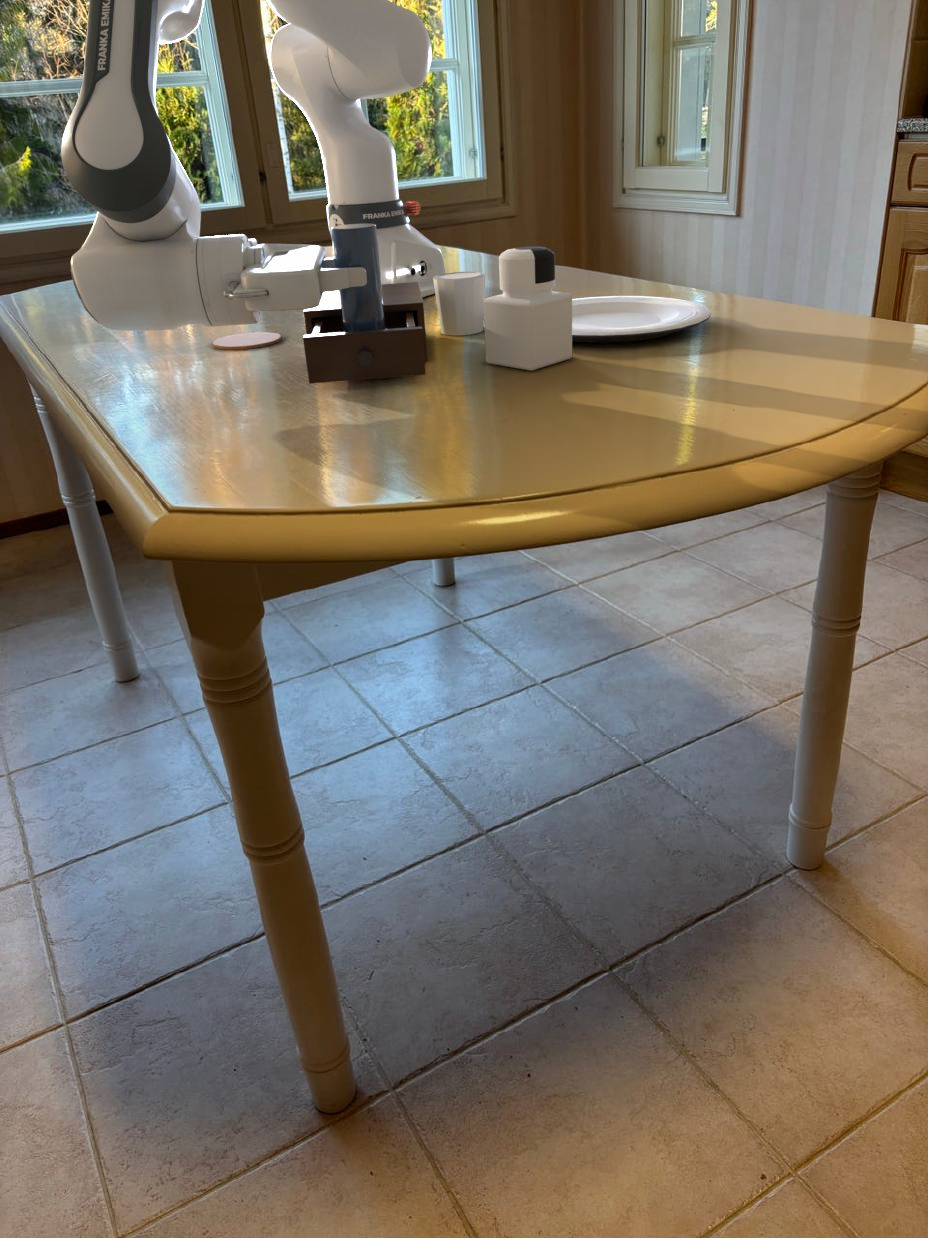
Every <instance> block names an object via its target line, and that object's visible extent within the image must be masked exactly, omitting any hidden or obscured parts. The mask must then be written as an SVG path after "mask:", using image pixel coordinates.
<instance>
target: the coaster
mask: <svg viewBox="0 0 928 1238" xmlns="http://www.w3.org/2000/svg"><path fill="white" fill-rule="evenodd" d="M281 340H282V335H281V334H279V333H277V332H270V331H253V332H243V333H235V334H229V335H226V336H222V337H219V338H216V339H215V340H213V341H212V346H213V347H214V348H215V349H219V350H225V351H226V350H229V351H235V350H238V351H239V350H250V349H256V348H262V347H267V346H271V345H275V344H276V343H279V342H281Z"/></svg>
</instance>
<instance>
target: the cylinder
mask: <svg viewBox="0 0 928 1238" xmlns="http://www.w3.org/2000/svg"><path fill="white" fill-rule="evenodd" d="M332 237H333V245H334V254H335V262H336V268H348V267H353V266H363V267H365V269H366V274H367V283H366V285H365V286H359V287H349V288H345V289H341V290H339V296H340V305H341V314H342V322H343V331H344V332H354V331H367V330H380V329H386V326H385V315H384V304H383V294H382V283H381V273H380V262H379V252H378V241H377V230H376V225H375V224H348V225H340V226H335V227H332Z"/></svg>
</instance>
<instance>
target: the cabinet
mask: <svg viewBox="0 0 928 1238" xmlns="http://www.w3.org/2000/svg"><path fill="white" fill-rule="evenodd" d="M382 294H383V304H384V313H385V312H399V311H412V312H413V318H414V324H415V327H422V331H423V344H424V357H425V362H428V346H427V334H426V322H425V321H426V319H425V307H424V300H423V297H422V295H421V291H420V287H419V283H418V282H410V283H396V284H382ZM302 311H303V313H302V314H303V318H304V325H305V326H304V327H305V333H306V334H305V335H312V332H313V329H314V326H315V323H316V320H317V317H330V316H342V314H341V305H340V296H339V290H337V291H333V292H324V293H323V296H322V299H321V302H320V305H319V306H318V307H316V308H312V309H305V310H302Z"/></svg>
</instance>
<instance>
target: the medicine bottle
mask: <svg viewBox="0 0 928 1238" xmlns="http://www.w3.org/2000/svg"><path fill="white" fill-rule="evenodd" d="M498 269H499V271H498V274H499V289H500V290H501V291H502V293H500V294H496V295H492V296H489V297H488V296H487V297H484V320H483V323H484V343H485V361H486V364H490V365H496V366H501V367H506V368H507V367H508V368H512V369H513V368H514V369H519V370H526V371H530V372H531V371H535V370H538V369H542V368H545V367H549V366H552V365H554V364H558V363H561V362H564V361H567V360H571V359H572V357H573V341H572V299H573V295H572V293H570V292H564V291H554V290H553V288H555V287H556V254H555V252H554V251H553V250H552V249H549V248H548V247H545V246H519V247H511V248H508V249H506V250H505V251H502V252H501V253H500V254H499V256H498Z"/></svg>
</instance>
